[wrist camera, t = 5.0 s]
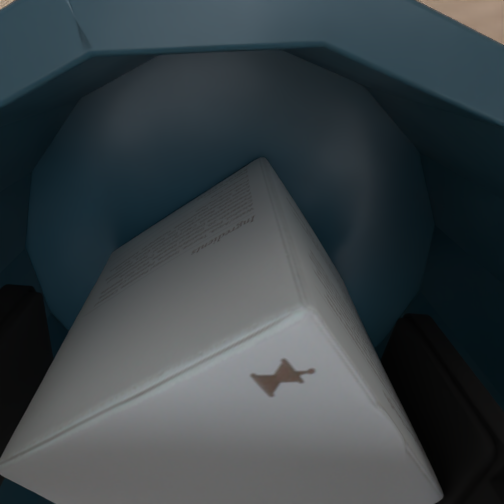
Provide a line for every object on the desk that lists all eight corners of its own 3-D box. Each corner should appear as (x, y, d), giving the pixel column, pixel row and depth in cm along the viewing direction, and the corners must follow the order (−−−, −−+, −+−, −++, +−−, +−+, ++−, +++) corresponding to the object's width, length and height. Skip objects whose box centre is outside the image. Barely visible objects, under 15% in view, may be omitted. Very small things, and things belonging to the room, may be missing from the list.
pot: (206, -162, 8) (149, -667, 2) (526, 247, 13) (735, 389, 8) (-69, 281, 13) (-296, 461, 7) (247, 444, 18) (255, 616, 13)
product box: (108, 248, 12) (-26, 472, 6) (265, 148, 11) (316, 297, 4) (214, 358, 15) (202, 593, 8) (350, 289, 13) (457, 508, 7)
